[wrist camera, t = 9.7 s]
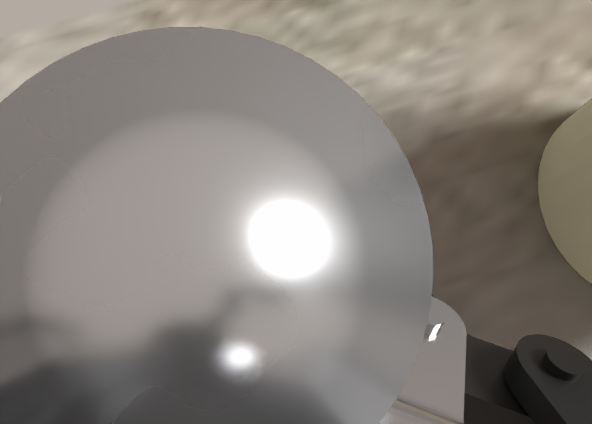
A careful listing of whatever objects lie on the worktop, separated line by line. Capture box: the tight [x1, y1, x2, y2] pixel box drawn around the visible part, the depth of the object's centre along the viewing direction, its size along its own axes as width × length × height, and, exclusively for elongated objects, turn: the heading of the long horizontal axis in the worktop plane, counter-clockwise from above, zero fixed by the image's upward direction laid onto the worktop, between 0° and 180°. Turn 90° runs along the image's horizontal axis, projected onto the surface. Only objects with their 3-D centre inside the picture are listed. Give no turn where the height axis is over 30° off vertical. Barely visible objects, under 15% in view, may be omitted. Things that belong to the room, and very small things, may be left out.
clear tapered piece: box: [0, 27, 433, 424], centre depth 10 cm, size 5×5×10 cm
